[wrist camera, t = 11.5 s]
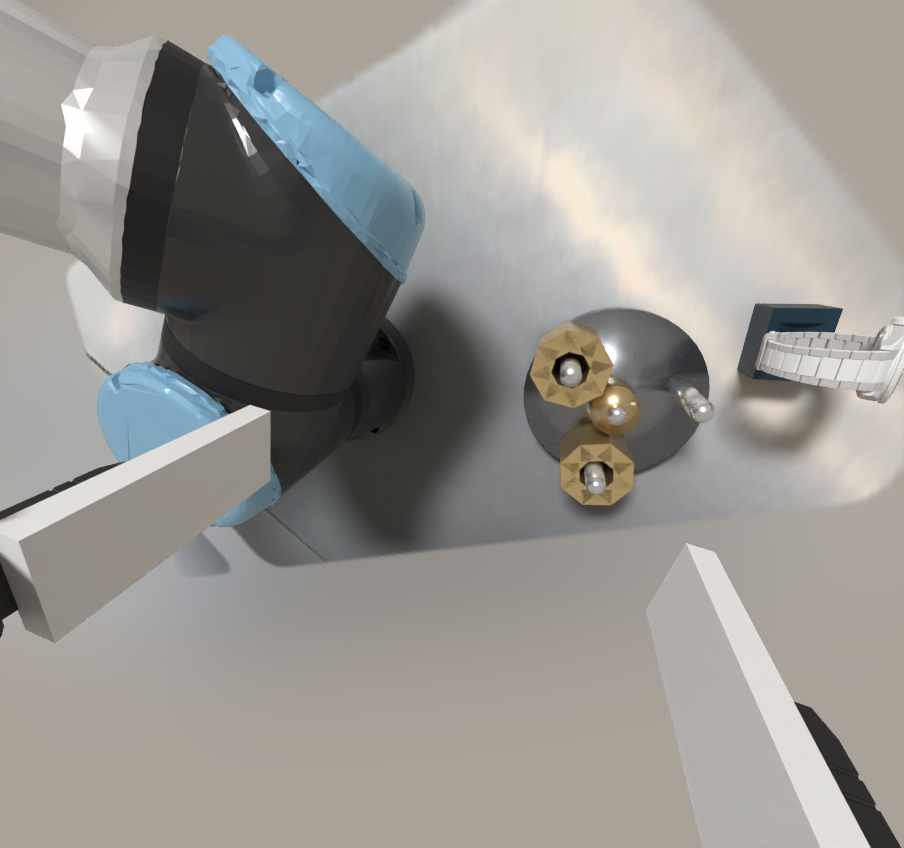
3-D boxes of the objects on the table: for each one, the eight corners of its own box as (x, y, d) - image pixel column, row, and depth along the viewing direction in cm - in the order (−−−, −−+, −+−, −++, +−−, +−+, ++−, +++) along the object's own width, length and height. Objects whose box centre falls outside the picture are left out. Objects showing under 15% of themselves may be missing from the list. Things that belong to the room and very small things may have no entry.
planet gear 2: (562, 477, 41) (562, 504, 36) (559, 424, 39) (559, 445, 34) (624, 477, 39) (632, 505, 34) (625, 421, 37) (634, 443, 32)
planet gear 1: (528, 378, 38) (523, 394, 33) (547, 316, 35) (544, 324, 31) (590, 395, 37) (594, 414, 32) (614, 332, 34) (622, 343, 30)
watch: (822, 373, 33) (934, 421, 23) (714, 368, 35) (775, 410, 25) (848, 303, 31) (983, 323, 21) (731, 302, 32) (804, 320, 23)
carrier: (507, 441, 42) (494, 485, 34) (552, 289, 36) (549, 297, 27) (659, 486, 40) (684, 545, 32) (738, 332, 33) (797, 355, 25)
